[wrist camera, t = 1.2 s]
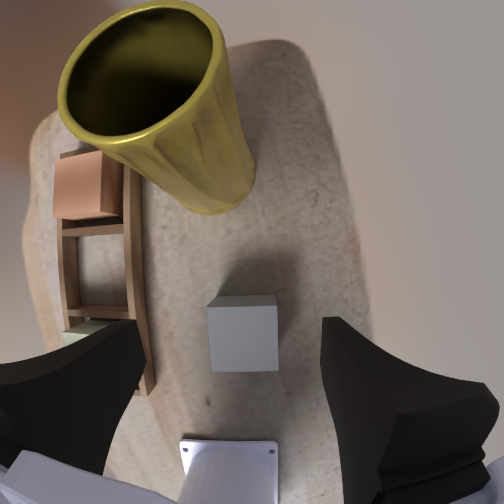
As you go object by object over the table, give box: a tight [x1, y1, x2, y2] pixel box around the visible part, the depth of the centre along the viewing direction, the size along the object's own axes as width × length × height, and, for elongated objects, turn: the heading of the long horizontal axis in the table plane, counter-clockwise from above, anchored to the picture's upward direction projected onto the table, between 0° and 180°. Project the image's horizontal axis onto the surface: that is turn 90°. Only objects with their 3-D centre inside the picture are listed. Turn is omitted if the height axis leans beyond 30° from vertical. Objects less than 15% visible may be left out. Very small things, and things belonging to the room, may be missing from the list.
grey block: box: [206, 294, 279, 372], centre depth 19 cm, size 4×4×4 cm
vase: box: [58, 0, 255, 215], centre depth 14 cm, size 6×6×14 cm
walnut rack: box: [53, 146, 156, 397], centre depth 19 cm, size 18×6×4 cm, turn 2°
